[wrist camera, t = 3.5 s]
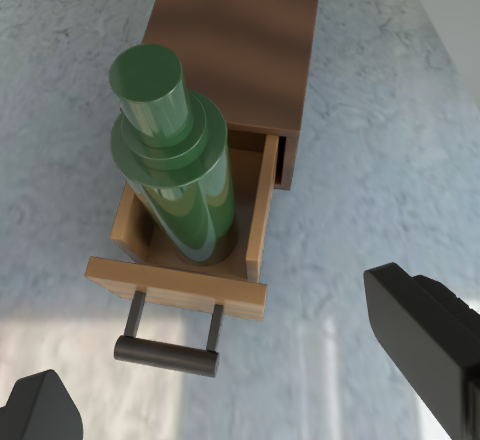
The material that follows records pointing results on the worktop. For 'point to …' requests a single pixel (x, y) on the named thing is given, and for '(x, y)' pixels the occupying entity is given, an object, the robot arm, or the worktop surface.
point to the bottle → (174, 154)
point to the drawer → (189, 276)
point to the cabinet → (244, 62)
